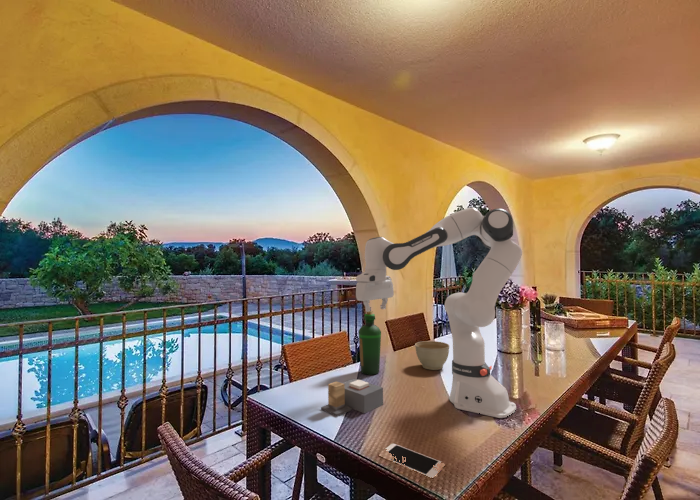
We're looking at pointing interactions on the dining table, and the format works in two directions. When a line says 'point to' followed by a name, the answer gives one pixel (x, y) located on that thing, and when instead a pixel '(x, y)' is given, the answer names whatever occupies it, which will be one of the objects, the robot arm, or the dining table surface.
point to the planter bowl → (432, 354)
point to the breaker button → (359, 385)
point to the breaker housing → (363, 397)
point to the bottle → (369, 345)
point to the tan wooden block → (336, 396)
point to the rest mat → (336, 413)
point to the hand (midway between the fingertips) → (375, 310)
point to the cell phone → (414, 460)
